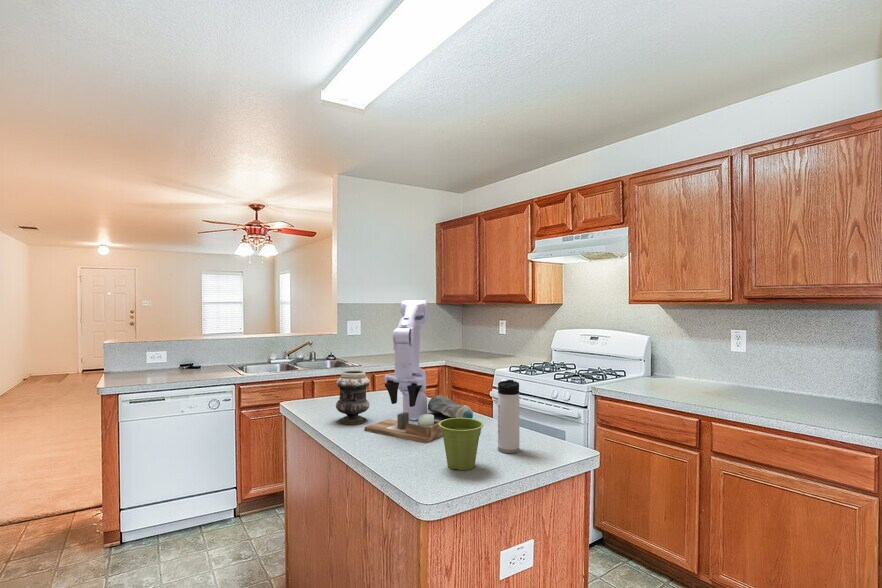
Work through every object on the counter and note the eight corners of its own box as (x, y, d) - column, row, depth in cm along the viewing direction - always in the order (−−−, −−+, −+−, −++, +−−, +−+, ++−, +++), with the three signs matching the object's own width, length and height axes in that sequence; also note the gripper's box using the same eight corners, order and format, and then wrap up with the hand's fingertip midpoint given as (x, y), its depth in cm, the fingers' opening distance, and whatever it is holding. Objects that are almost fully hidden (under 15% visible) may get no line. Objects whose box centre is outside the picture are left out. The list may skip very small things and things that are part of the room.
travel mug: (521, 447, 138) (521, 380, 138) (517, 454, 132) (517, 383, 132) (500, 445, 140) (500, 379, 140) (495, 452, 134) (495, 382, 134)
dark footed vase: (366, 425, 162) (366, 373, 162) (332, 425, 162) (332, 373, 162) (372, 416, 174) (372, 368, 174) (339, 416, 174) (340, 368, 175)
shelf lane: (387, 422, 166) (387, 410, 166) (446, 433, 152) (446, 420, 152) (364, 430, 156) (364, 418, 156) (425, 443, 142) (425, 429, 142)
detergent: (422, 413, 180) (451, 427, 158) (423, 394, 181) (452, 406, 158) (452, 412, 186) (484, 426, 163) (454, 394, 186) (485, 406, 164)
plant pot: (429, 466, 123) (429, 423, 123) (460, 455, 131) (460, 415, 131) (462, 478, 114) (462, 432, 114) (492, 466, 123) (492, 423, 123)
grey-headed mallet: (405, 425, 157) (405, 410, 157) (436, 430, 150) (436, 415, 150) (396, 428, 153) (396, 413, 153) (428, 434, 146) (428, 418, 146)
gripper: (378, 363, 155) (378, 404, 155) (413, 367, 147) (413, 410, 147) (392, 361, 161) (391, 400, 161) (426, 364, 153) (426, 405, 153)
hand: (403, 404), depth 155 cm, fingers open, 7 cm apart
